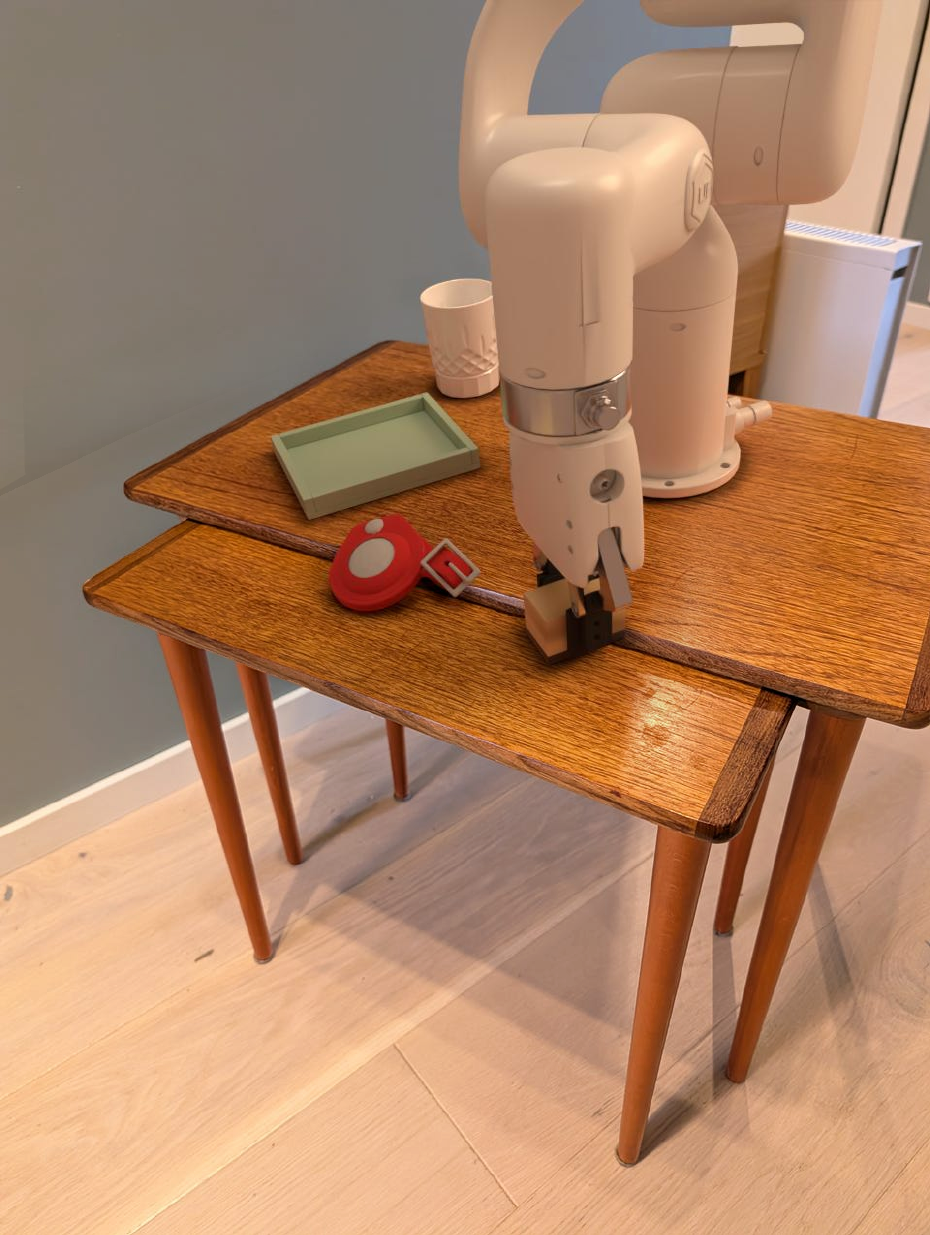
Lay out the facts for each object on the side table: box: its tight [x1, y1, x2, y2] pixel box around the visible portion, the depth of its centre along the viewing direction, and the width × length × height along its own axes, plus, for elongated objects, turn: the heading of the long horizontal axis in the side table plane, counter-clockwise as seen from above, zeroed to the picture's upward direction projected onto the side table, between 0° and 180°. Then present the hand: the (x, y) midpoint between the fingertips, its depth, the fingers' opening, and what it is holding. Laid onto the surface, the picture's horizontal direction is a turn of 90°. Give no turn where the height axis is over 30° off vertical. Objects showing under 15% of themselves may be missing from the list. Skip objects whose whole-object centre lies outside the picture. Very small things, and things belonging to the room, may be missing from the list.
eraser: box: [523, 578, 626, 666], centre depth 62 cm, size 6×4×4 cm, turn 112°
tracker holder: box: [328, 512, 482, 612], centre depth 70 cm, size 12×4×10 cm
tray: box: [270, 391, 481, 521], centre depth 86 cm, size 17×14×2 cm
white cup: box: [419, 278, 500, 399], centre depth 94 cm, size 8×8×10 cm
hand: (575, 628), depth 63 cm, fingers closed on eraser, 3 cm apart
